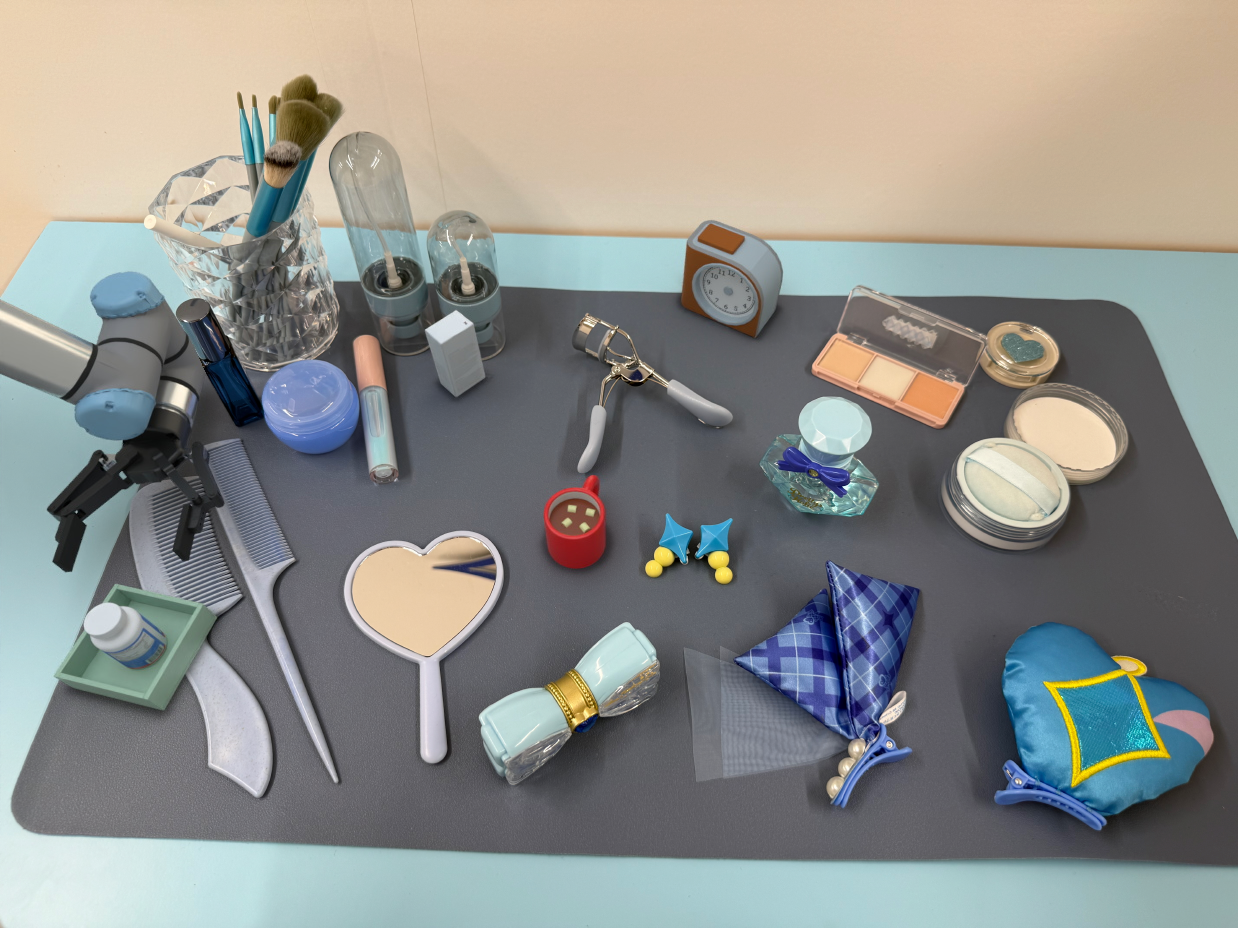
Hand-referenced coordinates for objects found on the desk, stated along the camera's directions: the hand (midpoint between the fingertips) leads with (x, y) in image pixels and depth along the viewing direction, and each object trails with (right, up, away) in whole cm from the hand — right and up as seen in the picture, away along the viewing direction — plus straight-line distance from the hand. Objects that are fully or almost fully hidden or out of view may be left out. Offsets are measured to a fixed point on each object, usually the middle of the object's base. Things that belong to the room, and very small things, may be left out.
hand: (121, 561), depth 92 cm
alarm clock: (+78, +38, +39) cm, 95 cm away
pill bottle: (+1, -11, +3) cm, 12 cm away
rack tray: (+1, -12, +3) cm, 12 cm away
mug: (+54, +2, +14) cm, 56 cm away
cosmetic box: (+35, +25, +29) cm, 52 cm away
